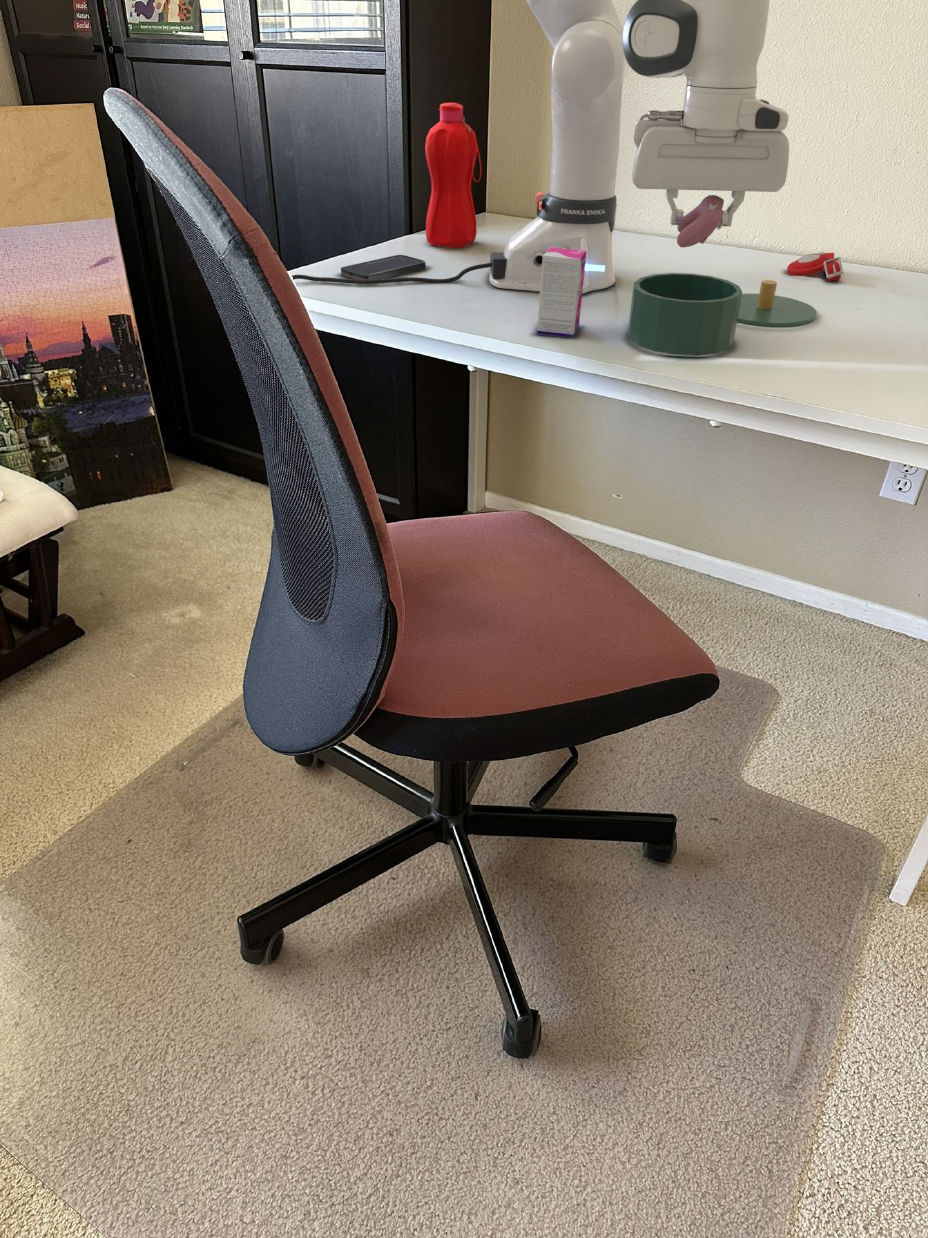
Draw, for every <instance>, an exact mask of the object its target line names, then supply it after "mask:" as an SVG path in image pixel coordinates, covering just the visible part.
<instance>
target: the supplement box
mask: <svg viewBox="0 0 928 1238" xmlns="http://www.w3.org/2000/svg"><path fill="white" fill-rule="evenodd" d="M586 253H587V252H586V251H582V250H570V249H560V248H550V249H549V250H548V251H547V252H546V253H545V254H544V255H543V260H542V273H541V285H540V291H539V299H538V300H539V301H538V314H537V325H536V335H537V336H538V335H539V336H547V337H548V336H549V337H558V338H568V339H569V338H570V339H572V338H573V337H574V335H575V334H576V331H577V330H578V329H579V327H580V320H581V310H582V299H583V294H582V291H583V281H584V272H585V262H586Z"/></svg>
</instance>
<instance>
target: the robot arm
mask: <svg viewBox="0 0 928 1238" xmlns="http://www.w3.org/2000/svg"><path fill="white" fill-rule="evenodd" d="M525 1H526V3H527V5H528V7H529V9H530V10H531V12H532V14H533V15H534V17H535V19H536V20H537V22H538V24H539V26H540V28H541V30H542V32H543V33H544V35H545V37H546V39H547V41H548V43H549V45H550V47H551V49H552V51H553V54H552V59H551V89H550V91H551V94H550V95H551V96H550V97H551V99H550V100H551V133H552V134H551V135H552V136H551V137H552V143H551V144H552V145H551V162H550V164H551V165H550V166H551V167H550V180H549V192H548V193H545V192H543V191H539V192H538V193H536V195H535V198H534V202H535V204H536V217H535V218H534V219H532V220H531V221H530V222H529V223H527V224H526V225H524V226H523V227H522V228H521V229H519V231H517V232H516V233H514V234H513V235H511V237H510V238H509V239H508V241H507V242H506V245H505V247H504V251H501V252H499V251H498V252H495V251H494V252H491V251H490V259H489V260H490V262H487V263H481V264H475V265H472V266H469V267H466V268H464V269H462V270H461V271H460V272H459V273H458V274H457V275H454V276H452V277H448V278H429V277H416V276H415V277H414V276H410V277H409V276H408V277H406V276H405V277H393V278H392V277H389V278H384V279H374V280H357V279H352V278H340V277H325V276H312V275H307V274H292V275H291V276H292V277H293V280H292V281H294V280H305V281H310V282H311V281H312V282H324V283H326V282H327V283H340V284H351V285H352V284H354V285H377V284H380V285H381V284H392V283H407V282H410V283H412V282H415V283H416V282H418V283H427V284H448V283H453V282H456V281H458V280H460V279H461V278H462V277H464V275H466V274H468V273H469V272H472V271H476V270H481V269H487V268H489V283H490V284H491V285H492V286H494V287H495V288H499V289H507V290H516V291H517V290H518V291H529V292H540V285H541V273H542V260H543V255H544V254H545V253H546V252H547V251H548V250H549V249H550V248H560V249H570V250H582V251H586V252H587V253H586V262H585V272H584V281H583V291H582V295H583V294H586V293H588V292H591V291H597V290H603V289H607V288H610V287H611V286H614V285H615V284H616V276H615V269H614V260H613V231H614V229H615V226H616V220H617V209H618V208H617V207H618V203H617V201H618V200H617V199H618V198H617V195H616V194H615V193H616V183H617V174H618V165H619V164H618V163H619V154H620V153H619V152H620V133H621V132H620V131H621V114H622V113H621V110H622V96H623V95H622V93H623V83H624V80H625V79H626V76H627V74H628V72H629V68H630V69H632V71H633V72H635V73H636V74H638V75H640V76H643V77H646V78H650V79H664V78H668V79H670V78H678V77H686V85H685V91H684V92H685V93H684V100H683V109H682V110H663V111H662V110H657V109H656V110H655V109H652V110H648V112H647V113H644V114H643V115H641V116H640V117H639V118H638V119H637V121H636V123H635V125H634V135H633V141H634V144H635V146H636V152H635V155H634V160H633V166H632V173H631V181H632V183H633V184H634V186H635V187H636V188H637V189H638V190H640V189H641V190H665V198H666V200H667V203H668V205H669V207H670V210H671V212H670V213H671V214H670V225H671V226H678V225H682V222H683V220H682V218H683V217H684V216H685V215H684V213H685V212H684V210H683V209H682V208H679V209H677V205H676V203H675V200H674V199H678V197H679V191H715V192H717V191H718V192H719V191H721V192H731V198H732V199H733V200H732V201H731V203H730V205H729V206H728V207H727V209H726V210H723V211H724V214H723V216H722V218H721V222H722V221H723V226H722V227H731V226H732V224H733V223H732V222H733V217H734V214H735V213H736V212H737V210H738V209H739V207H740V206H741V205H742V203H743V202H744V201H745V194H746V192H761V193H762V192H763V193H777V192H780V190H781V189H783V187H784V186H785V185H786V182H787V176H788V168H789V159H790V142H789V139H788V136H787V135H786V134H785V132H783V131H784V130H785V129H786V128H787V126H788V124H789V114H788V113H787V111H786V110H784V109H783V108H781V107H779V106H776V105H774V104H771V103H770V102H769V101H767V100H765V99H758V98H757V96H756V94H757V88H758V87H757V86H758V72H757V70H758V62H759V59H760V57H761V53H762V51H763V49H764V45H765V39H766V34H767V28H768V27H767V26H768V19H769V12H770V10H769V9H770V0H636V1H635V2H634V3H633V4H632V6H631V8H630V9H629V11H628V13H627V15H626V18H625V19H624V20H625V21H624V24H623V25H622V23H621V19H620V18H619V15H618V12H617V11H616V8H615V6H614V4H613V2H612V0H525ZM646 118H647V119H646Z"/></svg>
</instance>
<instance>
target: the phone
mask: <svg viewBox="0 0 928 1238" xmlns="http://www.w3.org/2000/svg"><path fill="white" fill-rule="evenodd" d="M426 263H427V261H426V260H424V259H420V258H417V257H412V256H409V255H405V254H396V255H390V256H386V257H382V258H376V259H373V260H368V261H363V262H359V263H355V264H350V265H345V266H344V265H343V266H341V267H340V275H341V276H343V277H346V278H348V279H357V280H374V279H389V278H392V277H396V276H400V275H404V274H409V273H412V272H417V271H421V270H425V269H426V268H427V264H426Z"/></svg>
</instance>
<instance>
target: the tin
mask: <svg viewBox="0 0 928 1238" xmlns="http://www.w3.org/2000/svg"><path fill="white" fill-rule="evenodd" d="M742 294H743V290H742V288H741V287H740V285H738V284H736V283H734V282H732V281H731V280H728V279H724V278H720V277H717V276H713V275H712V276H711V275H706V274H705V275H704V274H699V273H688V272H687V273H686V272H666V273H654V274H649V275H646V276H642V277H639V278H638V279H636V280H635V281H633V285H632V294H631V301H630V311H629V319H628V320H629V321H628V328H627V329H628V330H627V335H628V340H629V341H631V342H632V343H634V344H635V345H637V346H638V347H641V348H643V349H647V350H648V351H649V350H650V351H653V352H657V353H663V354H661V355H660V354H658V356H659V357H664V358H670V359H671V358H672V359H685V360H698V359H699V360H701V359H708V358H711V356H706V355H713V354H718V353H722V352H724V351H727V350H730V348H731V346H732V345H734V340H735V335H736V329H737V324H738V322H737V319H738V314H739V309H740V303H741V298H742ZM664 354H669V355H664ZM704 355H705V356H704Z"/></svg>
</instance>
